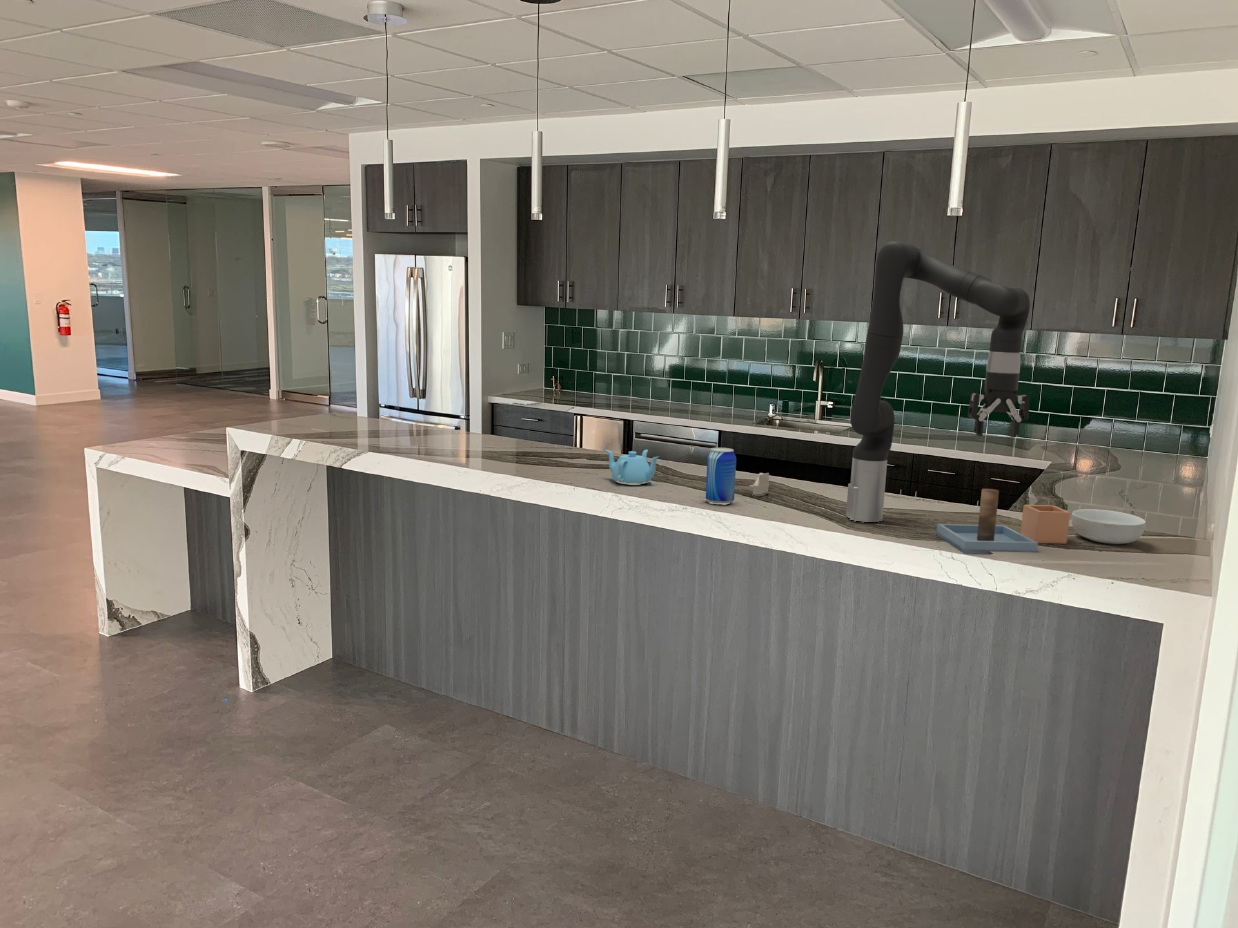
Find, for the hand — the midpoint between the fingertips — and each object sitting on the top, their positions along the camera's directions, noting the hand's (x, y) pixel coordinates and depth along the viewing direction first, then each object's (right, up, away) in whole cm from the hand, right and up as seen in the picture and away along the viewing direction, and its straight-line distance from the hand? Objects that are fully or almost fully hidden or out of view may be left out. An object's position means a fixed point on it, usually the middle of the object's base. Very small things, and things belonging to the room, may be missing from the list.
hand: (995, 436), depth 229 cm
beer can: (-64, -19, +44) cm, 80 cm away
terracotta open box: (+16, -27, +9) cm, 33 cm away
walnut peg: (-1, -26, +5) cm, 27 cm away
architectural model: (-50, -17, +57) cm, 78 cm away
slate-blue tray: (-1, -27, +5) cm, 28 cm away
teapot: (-89, -13, +72) cm, 115 cm away
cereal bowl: (+33, -27, +11) cm, 44 cm away
